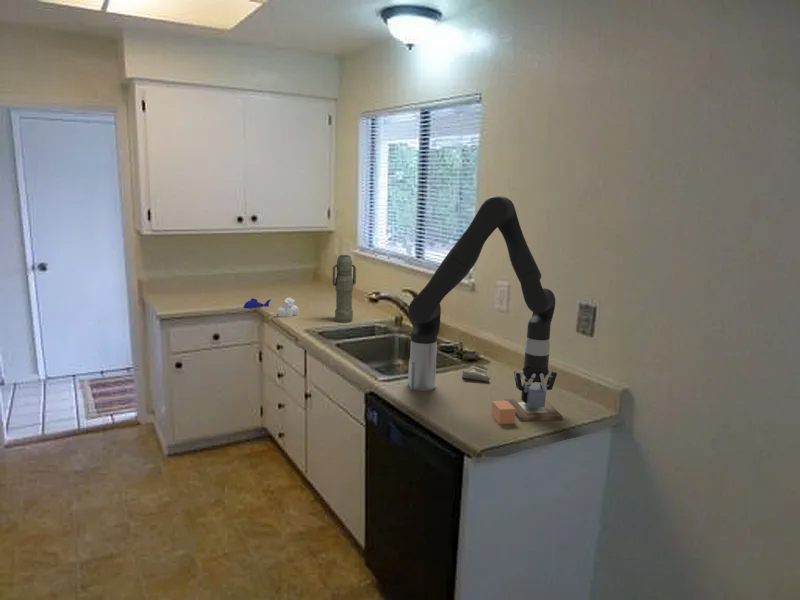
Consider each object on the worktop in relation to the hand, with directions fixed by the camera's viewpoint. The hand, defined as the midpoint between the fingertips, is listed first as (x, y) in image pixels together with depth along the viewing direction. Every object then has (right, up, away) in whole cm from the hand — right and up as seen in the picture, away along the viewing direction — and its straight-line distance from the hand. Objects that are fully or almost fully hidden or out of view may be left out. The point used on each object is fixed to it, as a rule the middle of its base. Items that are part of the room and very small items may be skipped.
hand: (533, 401), depth 186 cm
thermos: (-72, +21, +109) cm, 132 cm away
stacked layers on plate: (-15, +3, +29) cm, 32 cm away
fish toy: (-122, +27, +134) cm, 183 cm away
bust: (-102, +23, +117) cm, 158 cm away
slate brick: (0, -1, 0) cm, 0 cm away
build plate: (0, -3, +1) cm, 3 cm away
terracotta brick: (-11, -4, -7) cm, 14 cm away
